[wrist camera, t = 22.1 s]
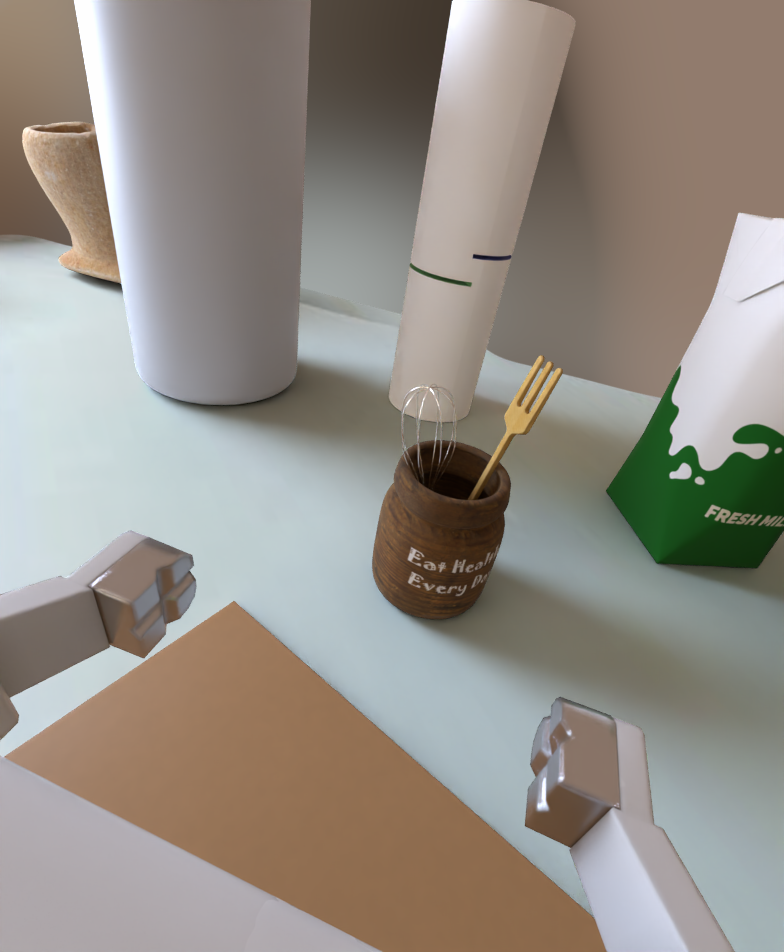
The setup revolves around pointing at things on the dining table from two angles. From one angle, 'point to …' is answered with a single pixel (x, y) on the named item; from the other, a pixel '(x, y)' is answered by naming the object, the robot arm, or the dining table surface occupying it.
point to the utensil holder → (449, 513)
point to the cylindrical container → (474, 193)
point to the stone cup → (75, 193)
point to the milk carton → (719, 422)
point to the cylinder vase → (204, 185)
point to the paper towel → (301, 799)
